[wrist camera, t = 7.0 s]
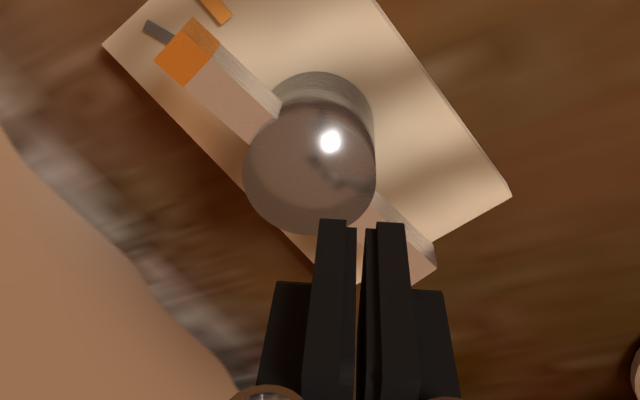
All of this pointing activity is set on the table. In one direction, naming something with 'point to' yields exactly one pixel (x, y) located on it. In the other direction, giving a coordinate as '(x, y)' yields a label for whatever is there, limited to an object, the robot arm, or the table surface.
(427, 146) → the stand
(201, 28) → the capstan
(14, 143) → the table surface
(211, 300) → the table surface
